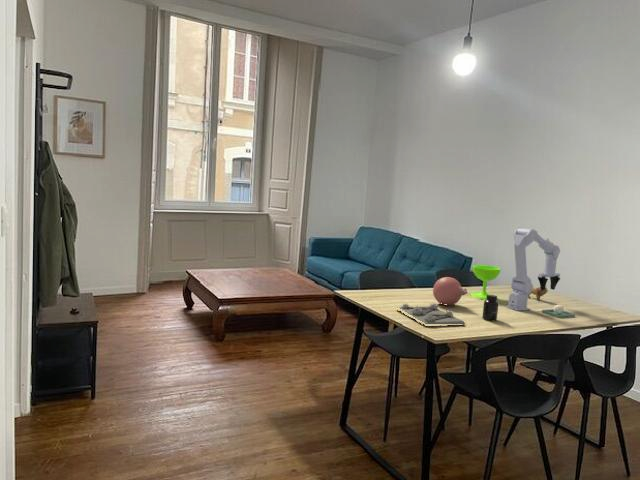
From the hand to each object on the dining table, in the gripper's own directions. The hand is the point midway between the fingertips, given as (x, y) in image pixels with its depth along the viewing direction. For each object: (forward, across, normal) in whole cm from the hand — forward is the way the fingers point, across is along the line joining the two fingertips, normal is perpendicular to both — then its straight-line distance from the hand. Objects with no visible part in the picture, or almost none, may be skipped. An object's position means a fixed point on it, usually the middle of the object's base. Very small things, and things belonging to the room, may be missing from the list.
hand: (547, 289), depth 282 cm
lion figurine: (+10, +8, +15) cm, 19 cm away
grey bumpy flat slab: (+10, -86, -7) cm, 86 cm away
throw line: (+9, -8, -10) cm, 16 cm away
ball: (+9, -10, -17) cm, 22 cm away
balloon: (+10, -59, +11) cm, 61 cm away
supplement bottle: (+10, -56, -16) cm, 59 cm away
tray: (+9, -10, -17) cm, 22 cm away
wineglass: (+10, -23, +25) cm, 35 cm away
